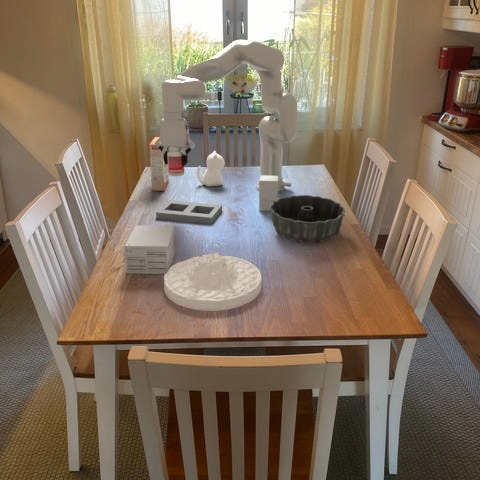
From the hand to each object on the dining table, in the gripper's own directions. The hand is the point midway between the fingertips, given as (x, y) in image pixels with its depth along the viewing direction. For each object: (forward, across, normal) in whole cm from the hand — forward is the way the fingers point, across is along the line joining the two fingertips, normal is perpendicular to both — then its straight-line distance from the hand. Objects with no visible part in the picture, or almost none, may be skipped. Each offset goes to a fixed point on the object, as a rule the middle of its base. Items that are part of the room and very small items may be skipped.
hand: (175, 163), depth 197 cm
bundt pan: (+20, -51, +7) cm, 55 cm away
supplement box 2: (+20, -33, -15) cm, 41 cm away
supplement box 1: (+20, -7, +42) cm, 48 cm away
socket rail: (+20, -5, 0) cm, 20 cm away
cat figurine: (+20, -2, -38) cm, 43 cm away
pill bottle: (+4, 0, 0) cm, 4 cm away
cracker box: (+20, +19, -30) cm, 40 cm away
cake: (+21, -30, +52) cm, 64 cm away
